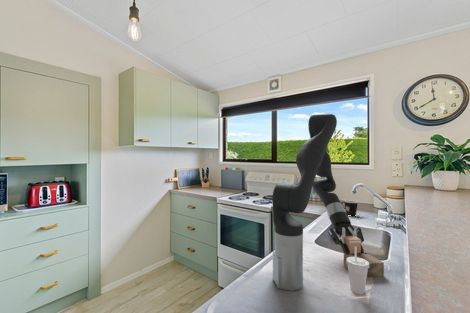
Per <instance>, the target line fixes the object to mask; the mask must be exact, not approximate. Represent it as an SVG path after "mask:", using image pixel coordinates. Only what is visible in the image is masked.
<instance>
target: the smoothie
mask: <svg viewBox="0 0 470 313" xmlns="http://www.w3.org/2000/svg"><path fill="white" fill-rule="evenodd" d="M346 262H347V264H348V270H347V271H348V278H349V286H350V291H351V292H353V293H354V294H356V295H364V294H365V290H366V283H367V278H368V277H367V272H368V268H369V262H368V261H366V260H365V259H362V258H359V257H357V247H356V246H355V257H348V258H347V261H346Z"/></svg>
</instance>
